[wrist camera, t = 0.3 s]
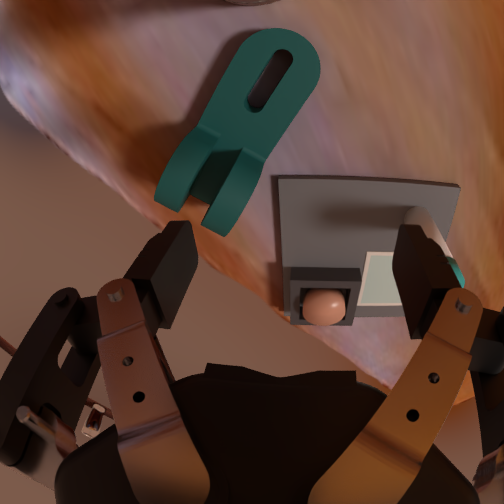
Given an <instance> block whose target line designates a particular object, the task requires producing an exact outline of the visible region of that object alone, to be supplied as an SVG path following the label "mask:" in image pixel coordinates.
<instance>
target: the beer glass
mask: <svg viewBox="0 0 504 504" xmlns="http://www.w3.org/2000/svg"><path fill="white" fill-rule="evenodd" d="M106 410H107V409H106V408H105V407H103V406H102V405H100V404H97V403H93V407H92V411H91V413H90V414H89V416H88V417H87V419H86V421H85V423H84V426H83V429H82V432H81V433H82V434H84V435H86V436H88V437H90V438H94V437H95V436H97V435H98V434H99V432H100V428H101V423H102V418H103V415H104V413H105V412H106Z"/></svg>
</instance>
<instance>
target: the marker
mask: <svg viewBox="0 0 504 504" xmlns="http://www.w3.org/2000/svg"><path fill="white" fill-rule="evenodd" d="M404 223H405V224H415V225H420V226H421V227H422V229H423V231H424V233H425V235H426V236H427V238H432V239H433V240H434V241H435V242H436V243H437V244H439V245H440V246H441V248H442V250H443V252H444V253H445V257H447V259H448V261H449V265H451V267H452V269H453V270H454V272H455V274H456V276H457V278H458V280H459V282H460V284H461V287H462V288H463V287H464V284H465V280H464V277H463V275H462V273H461V271H460V269H459V267H458V264H457V262H456V261H455V259H453V257H452V255H451V253H450V251H449V249H448V247H447V245H446V243H445V241H444V239H443V237H442V235H441V233H440V231H439V229H438V228H437V226H436V224H435V222H434V220H433V219H432V217H431V215H430V213H429V212H428V210H427V209H426V208H424V207H422V206H416V207H413V208H411V209H410V210H409V211H408V212H407V213H406V214H405V217H404Z"/></svg>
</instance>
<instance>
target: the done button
mask: <svg viewBox="0 0 504 504" xmlns="http://www.w3.org/2000/svg"><path fill="white" fill-rule="evenodd" d="M344 315H345V300H344V295H343V293H342V292H341V291H340V290H339V289H337V288H312V289H310V290H309V291H307V292H306V294H305V295H304V298H303V316H304V318H305V319H306V320H307V321H308V322H310V323H312V324H314V325H319V326H327V325H332V324H335V323H337V322H339V321H340V320H341V319H342V318H343V317H344Z"/></svg>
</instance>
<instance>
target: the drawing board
mask: <svg viewBox="0 0 504 504" xmlns="http://www.w3.org/2000/svg"><path fill="white" fill-rule="evenodd" d="M278 185H279V203H280V222H281V243H282V267H283V295H284V316H290V324H293V325H314V324H312V323H310V322H308V321H307V320H306V319H305V318H304V316H303V298H304V295H305V294H306V292H307V291H309V290H310V289H312V288H337V289H339V290H340V291H341V292H342V293H343V295H344V300H345V315H344V317H343V318H342V319H341V320H340V321H339V322H337V323H335V324H332V325H340V326H352V323H353V319H354V317H403V316H405V314H404V311H403V307H402V303H401V300H400V296H399V293H398V289H397V286H396V282H395V279H394V276H393V272H392V259H393V254H394V249H395V245H396V240H397V235H398V230H399V227H400V225H401V224H405V223H404V217H405V214H406V213H407V212H408V211H409V210H410V209H411V208H413V207H416V206H422V207H424V208H426V209H427V210H428V212H429V213H430V215H431V217H432V219H433V220H434V222H435V224H436V226H437V228H438V229H439V231H440V233H441V235H442V237H443V239H444V241H445V242H446V239H447V236H448V232H449V229H450V226H451V223H452V219H453V216H454V212H455V209H456V205H457V201H458V197H459V193H460V189H461V188H460V187H459V185H458V184H449V183H440V182H429V181H418V180H405V179H391V178H373V177H351V176H308V175H279V177H278Z"/></svg>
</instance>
